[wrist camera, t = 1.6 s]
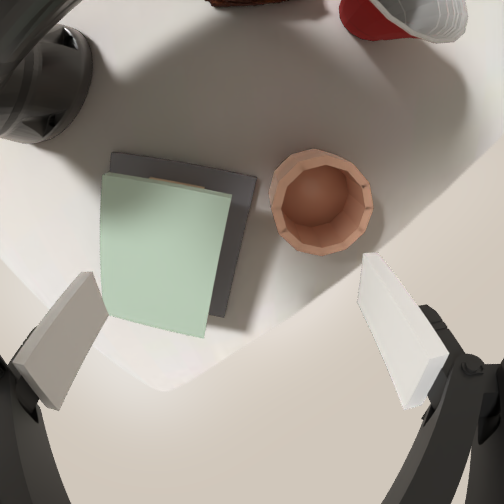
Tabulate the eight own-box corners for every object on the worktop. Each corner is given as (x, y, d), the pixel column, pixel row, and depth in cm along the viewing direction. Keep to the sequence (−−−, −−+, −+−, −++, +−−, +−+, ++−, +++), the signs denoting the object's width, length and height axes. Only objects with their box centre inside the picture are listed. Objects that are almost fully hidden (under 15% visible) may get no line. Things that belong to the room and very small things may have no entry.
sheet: (107, 307, 31) (103, 313, 30) (108, 172, 24) (102, 174, 23) (205, 331, 32) (203, 338, 31) (232, 194, 25) (231, 198, 24)
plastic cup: (418, 63, 23) (487, 52, 12) (330, 64, 24) (375, 37, 13) (394, -17, 18) (447, -54, 8) (305, -21, 19) (330, -78, 9)
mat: (109, 287, 36) (93, 309, 31) (113, 152, 28) (91, 159, 24) (224, 314, 37) (221, 340, 33) (256, 177, 30) (257, 188, 25)
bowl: (260, 220, 32) (262, 243, 26) (281, 139, 28) (288, 144, 22) (337, 238, 33) (352, 262, 27) (362, 163, 29) (385, 174, 23)
